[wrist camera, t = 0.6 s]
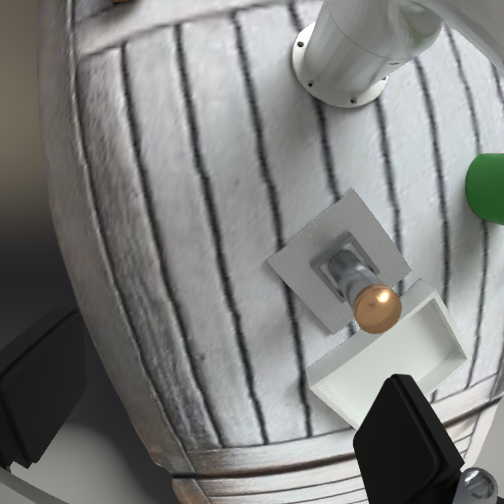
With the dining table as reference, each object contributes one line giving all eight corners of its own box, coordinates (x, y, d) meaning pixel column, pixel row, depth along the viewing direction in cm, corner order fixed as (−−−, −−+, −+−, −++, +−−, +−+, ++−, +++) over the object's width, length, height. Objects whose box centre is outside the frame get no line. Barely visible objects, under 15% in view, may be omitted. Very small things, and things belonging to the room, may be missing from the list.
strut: (347, 242, 39) (386, 279, 26) (366, 267, 39) (409, 312, 26) (320, 265, 40) (347, 312, 26) (340, 289, 40) (372, 342, 27)
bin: (421, 277, 41) (435, 289, 36) (459, 345, 44) (472, 358, 39) (305, 369, 45) (308, 388, 40) (360, 420, 48) (366, 438, 43)
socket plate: (351, 188, 38) (356, 189, 35) (408, 268, 40) (416, 273, 38) (266, 259, 41) (266, 265, 38) (331, 331, 43) (335, 340, 41)
